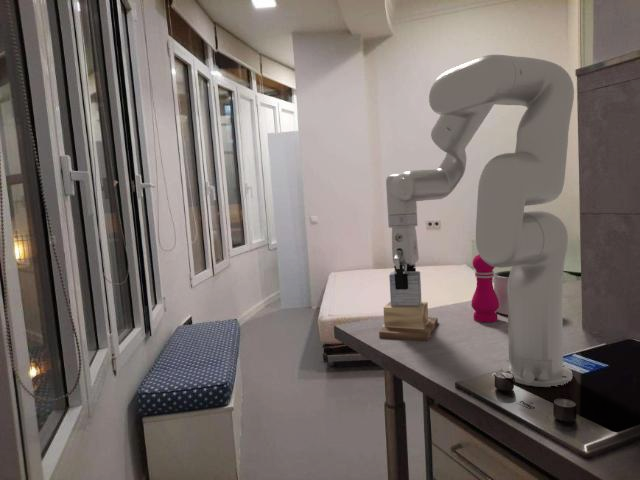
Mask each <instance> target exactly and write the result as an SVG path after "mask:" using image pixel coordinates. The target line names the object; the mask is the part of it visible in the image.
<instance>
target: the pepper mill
mask: <svg viewBox="0 0 640 480" xmlns="http://www.w3.org/2000/svg"><path fill="white" fill-rule="evenodd" d="M472 267H473V269H475V271H474V277H476V287H475V290H474V293H473V295H472V297H471V298H472V299H471V308H472V309H473V310H474V312H473V320H474V321H475V322H477V321H479V322H478V323H484V322H487V323H489V322H490V323H494V322H497V321H498V319H499V317H498V312H496V310H497V309H498V308H499V301H498V297H497V295H496V293H495V291H494V282H493V279H494V274H495V271H494V270H495V268H496V267H493V266H491V265H488V264H487V263H486V262H485V261H484V260H483V259H482V258H481V256H480V255H479V254H477V255H475V256H474V257H473V259H472Z"/></svg>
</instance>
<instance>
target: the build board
mask: <svg viewBox="0 0 640 480" xmlns="http://www.w3.org/2000/svg"><path fill="white" fill-rule="evenodd" d="M438 321H439V319H438V317H432V316H431V317H430V316H428V321H427V322H426V324H425V325H424V327H423V328H410V327H393V326H384V324H382V326H381V327H382V328H381V329H380V330H379V332H378V336H379V338H382V339H392V340H393V339H395V340H396V339H397V340H409V341H412V340H413V341H422V342H423V341H424V342H426V341H428V340H429V338H430V336H431V335H432V333H433V332H434V330H435V329H436V327H437V325H438V323H439V322H438Z"/></svg>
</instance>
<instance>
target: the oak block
mask: <svg viewBox="0 0 640 480" xmlns="http://www.w3.org/2000/svg"><path fill="white" fill-rule="evenodd" d="M428 303H429V302H428V301H421V306H391V300H390V301H389V302H388V303H387V304H385V306H383V322H384V323H383V325H384V326H393V327H410V328H423V327H424V325H425V324H426V322H427V321H428V317H429V310H428V309H429V308H428V306H429V305H428Z"/></svg>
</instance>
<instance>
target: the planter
mask: <svg viewBox="0 0 640 480" xmlns="http://www.w3.org/2000/svg"><path fill="white" fill-rule="evenodd" d="M510 271H511V270H504V271H497V272H494V273H493V274H494V277H493V288H494V291H495V293H496V295H497V297H498V301H499V308H498V309H497V310H496V311H495V312H496V313H497V314H500V315H502V316H506V317H508V279H509V275H510Z"/></svg>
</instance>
